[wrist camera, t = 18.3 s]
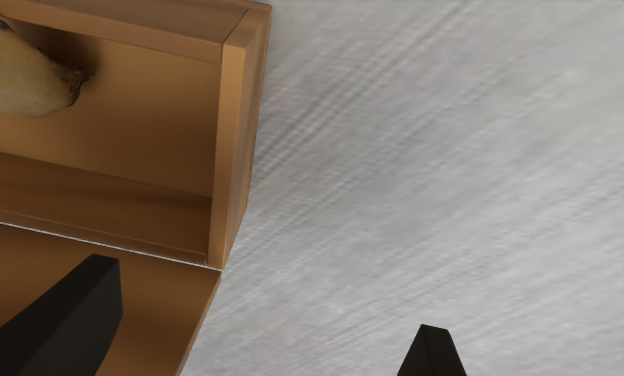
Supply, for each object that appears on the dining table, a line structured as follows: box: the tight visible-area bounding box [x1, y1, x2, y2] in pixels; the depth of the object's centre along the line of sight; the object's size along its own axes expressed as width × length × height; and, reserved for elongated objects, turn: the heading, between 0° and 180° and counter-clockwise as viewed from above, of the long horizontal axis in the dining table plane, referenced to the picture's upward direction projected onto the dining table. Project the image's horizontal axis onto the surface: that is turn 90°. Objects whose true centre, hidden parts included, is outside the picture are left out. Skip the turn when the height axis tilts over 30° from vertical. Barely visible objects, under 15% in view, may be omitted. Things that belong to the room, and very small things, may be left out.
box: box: [0, 0, 272, 270], centre depth 19 cm, size 9×15×4 cm, turn 80°
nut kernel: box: [0, 20, 96, 117], centre depth 17 cm, size 6×5×3 cm
